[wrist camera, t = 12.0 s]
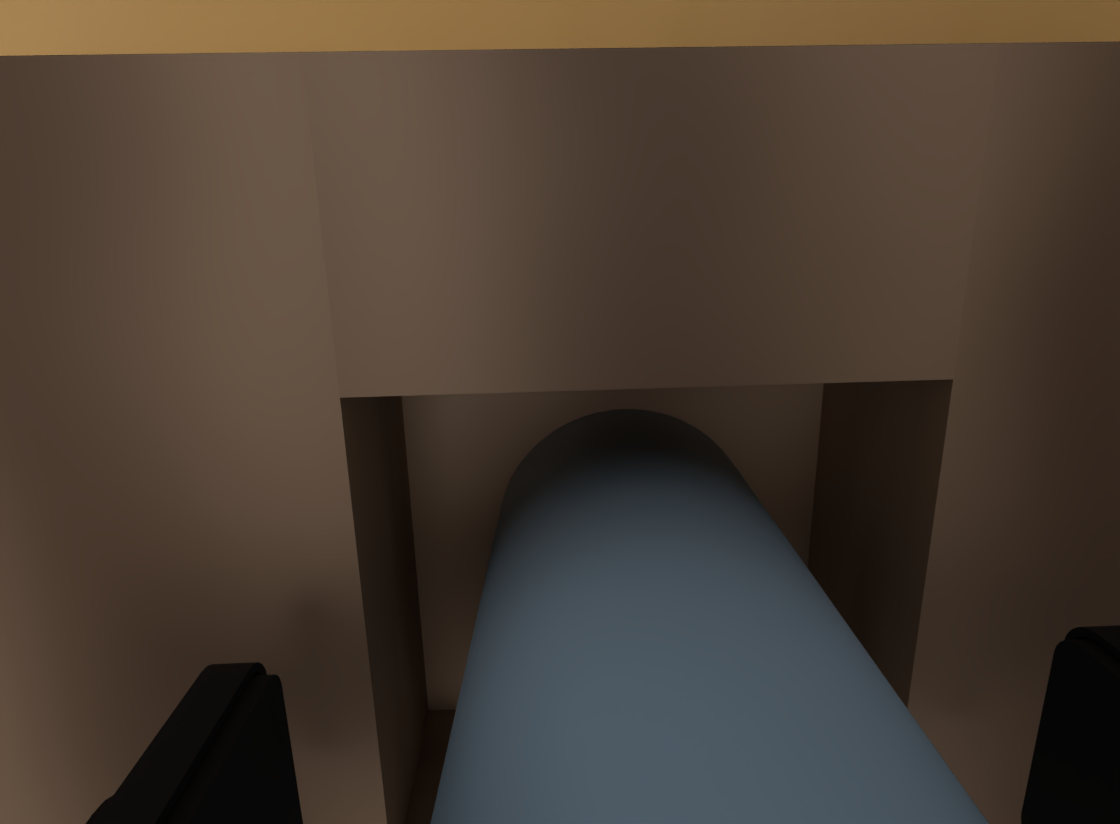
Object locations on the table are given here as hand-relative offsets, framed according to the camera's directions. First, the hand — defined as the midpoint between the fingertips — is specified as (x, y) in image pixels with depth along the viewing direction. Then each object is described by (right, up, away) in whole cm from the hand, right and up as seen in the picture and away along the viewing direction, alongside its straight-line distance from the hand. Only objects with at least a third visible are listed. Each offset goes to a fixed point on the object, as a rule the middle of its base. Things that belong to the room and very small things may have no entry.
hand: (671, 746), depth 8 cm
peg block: (0, +2, +7) cm, 7 cm away
